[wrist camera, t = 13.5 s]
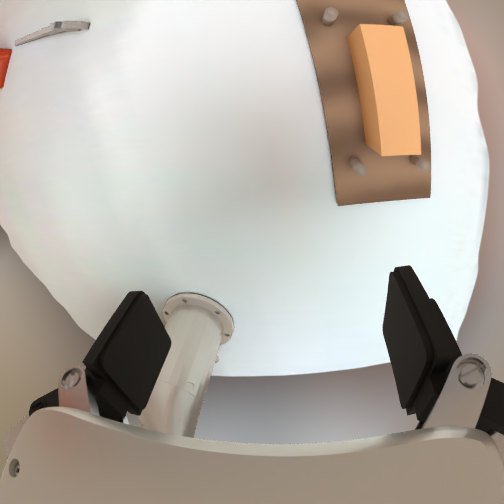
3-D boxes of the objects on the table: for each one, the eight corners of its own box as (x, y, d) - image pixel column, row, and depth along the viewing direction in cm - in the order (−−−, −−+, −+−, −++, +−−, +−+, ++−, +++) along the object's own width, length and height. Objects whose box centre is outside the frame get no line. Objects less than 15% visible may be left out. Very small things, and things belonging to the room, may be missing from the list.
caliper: (92, 22, 21) (61, 19, 16) (90, 29, 21) (59, 26, 16) (17, 41, 20) (-8, 44, 15) (16, 46, 21) (-9, 50, 16)
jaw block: (382, 37, 18) (402, 26, 13) (399, 141, 25) (421, 154, 20) (347, 37, 19) (359, 24, 14) (365, 143, 25) (381, 156, 21)
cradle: (426, 194, 28) (442, 209, 24) (336, 202, 31) (342, 219, 27) (396, -10, 15) (410, -22, 11) (293, -10, 18) (292, -26, 14)
